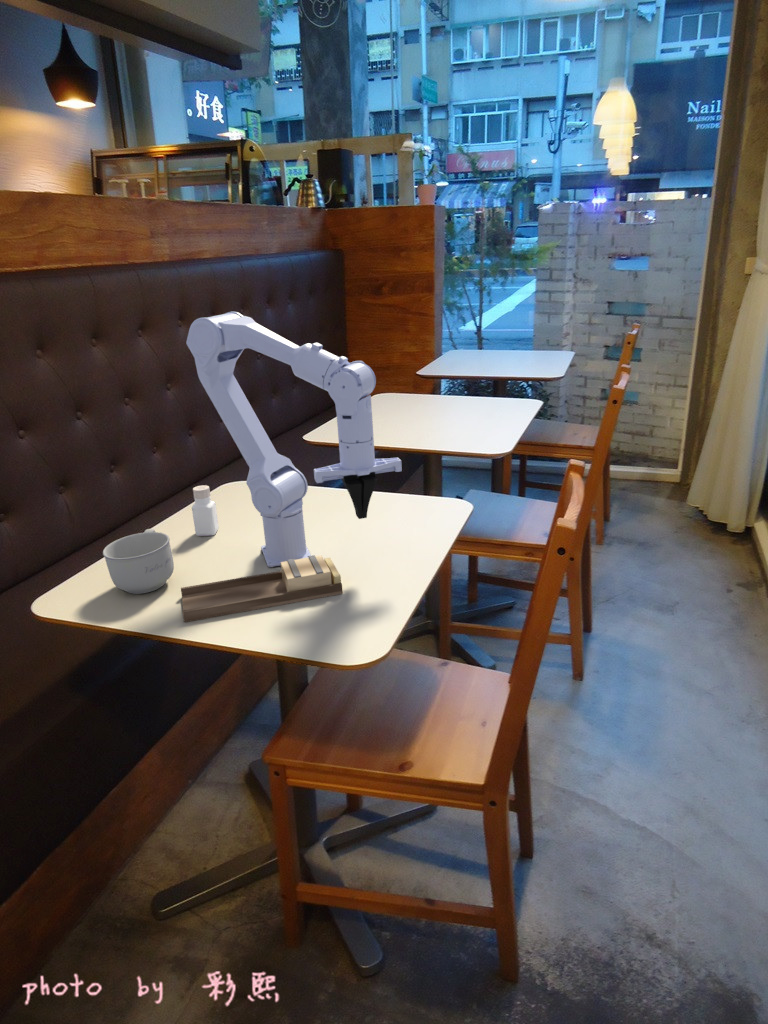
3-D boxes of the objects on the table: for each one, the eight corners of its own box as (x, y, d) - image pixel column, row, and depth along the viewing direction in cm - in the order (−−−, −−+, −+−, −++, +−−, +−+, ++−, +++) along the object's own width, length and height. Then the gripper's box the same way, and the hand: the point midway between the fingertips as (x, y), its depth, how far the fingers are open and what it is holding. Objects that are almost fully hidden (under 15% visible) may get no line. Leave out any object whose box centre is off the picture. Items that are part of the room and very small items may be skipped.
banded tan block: (282, 579, 126) (280, 560, 125) (323, 572, 128) (321, 553, 126) (289, 597, 120) (287, 577, 118) (332, 589, 121) (330, 570, 120)
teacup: (159, 602, 122) (151, 557, 119) (98, 599, 124) (89, 555, 121) (194, 565, 135) (187, 524, 132) (139, 564, 137) (131, 523, 134)
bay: (182, 597, 123) (179, 581, 122) (330, 571, 129) (329, 556, 128) (184, 622, 115) (181, 605, 114) (342, 593, 121) (341, 577, 120)
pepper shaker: (215, 536, 147) (208, 490, 144) (195, 537, 148) (188, 491, 144) (219, 528, 151) (213, 484, 148) (200, 529, 151) (193, 485, 148)
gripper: (317, 450, 117) (324, 531, 121) (405, 439, 120) (409, 517, 125) (308, 439, 123) (315, 516, 128) (393, 429, 127) (396, 504, 131)
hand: (361, 516), depth 127 cm, fingers closed
